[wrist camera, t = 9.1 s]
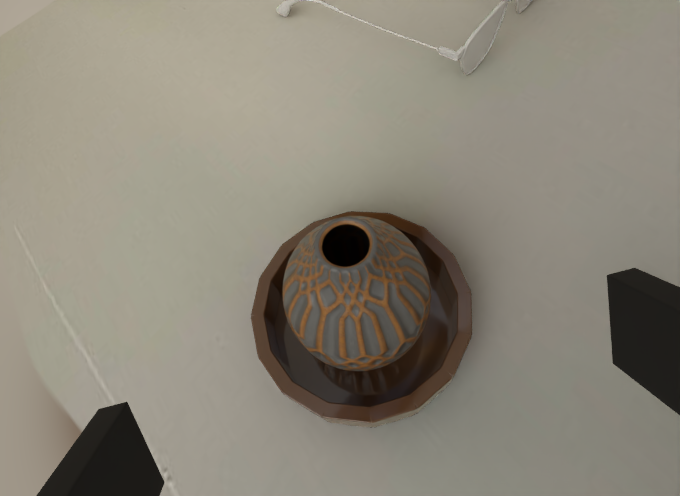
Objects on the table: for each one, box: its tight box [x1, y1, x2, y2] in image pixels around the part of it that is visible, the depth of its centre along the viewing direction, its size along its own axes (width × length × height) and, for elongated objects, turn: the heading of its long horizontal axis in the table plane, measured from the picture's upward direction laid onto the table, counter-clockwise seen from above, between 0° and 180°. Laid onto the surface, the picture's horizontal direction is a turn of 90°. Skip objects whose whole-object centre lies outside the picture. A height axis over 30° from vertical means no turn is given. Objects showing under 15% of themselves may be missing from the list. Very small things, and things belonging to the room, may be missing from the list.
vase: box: [283, 216, 431, 371], centre depth 20 cm, size 7×7×9 cm
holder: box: [251, 211, 472, 428], centre depth 23 cm, size 11×11×2 cm
